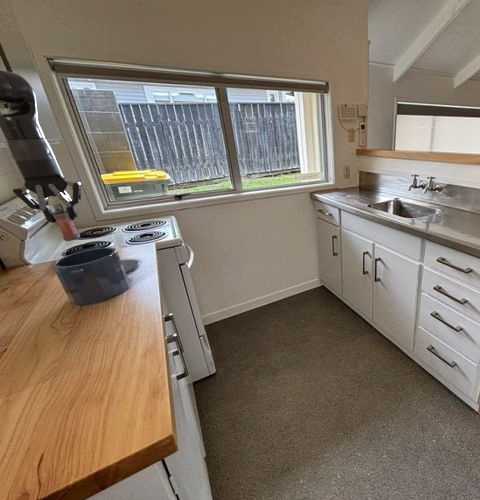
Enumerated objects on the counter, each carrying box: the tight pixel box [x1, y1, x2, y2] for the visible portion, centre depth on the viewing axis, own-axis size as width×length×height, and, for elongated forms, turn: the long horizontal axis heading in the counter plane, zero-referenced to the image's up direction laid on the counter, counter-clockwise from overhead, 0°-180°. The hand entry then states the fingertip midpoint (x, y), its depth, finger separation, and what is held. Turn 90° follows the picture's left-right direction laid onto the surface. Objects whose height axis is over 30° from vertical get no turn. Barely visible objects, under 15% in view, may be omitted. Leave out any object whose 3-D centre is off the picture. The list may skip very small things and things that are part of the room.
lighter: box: [52, 202, 81, 242], centre depth 81 cm, size 8×3×10 cm, turn 40°
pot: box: [51, 247, 131, 307], centre depth 87 cm, size 15×20×12 cm
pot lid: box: [121, 259, 140, 274], centre depth 103 cm, size 16×16×6 cm
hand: (64, 220), depth 81 cm, fingers closed on lighter, 3 cm apart
